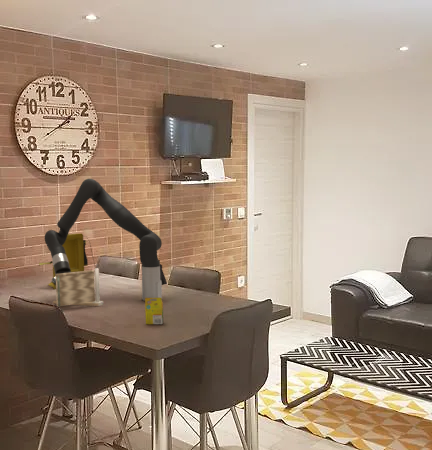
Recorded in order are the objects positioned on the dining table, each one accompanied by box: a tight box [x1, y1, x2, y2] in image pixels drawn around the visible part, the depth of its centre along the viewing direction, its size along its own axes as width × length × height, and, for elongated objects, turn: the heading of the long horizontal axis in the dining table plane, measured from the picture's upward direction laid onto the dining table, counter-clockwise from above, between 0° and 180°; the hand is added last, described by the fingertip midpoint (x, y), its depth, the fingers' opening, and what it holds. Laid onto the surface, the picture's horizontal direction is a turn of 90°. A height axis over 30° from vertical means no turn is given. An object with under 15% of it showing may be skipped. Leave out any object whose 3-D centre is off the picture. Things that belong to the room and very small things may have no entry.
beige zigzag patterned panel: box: [55, 269, 96, 307], centre depth 284 cm, size 18×2×15 cm, turn 122°
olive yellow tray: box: [38, 232, 96, 290], centre depth 338 cm, size 31×14×30 cm, turn 125°
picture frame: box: [52, 267, 104, 307], centre depth 292 cm, size 25×5×18 cm, turn 76°
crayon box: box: [144, 297, 164, 325], centre depth 255 cm, size 7×3×12 cm, turn 88°
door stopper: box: [160, 263, 168, 286], centre depth 339 cm, size 9×6×12 cm, turn 124°
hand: (68, 294), depth 284 cm, fingers closed
